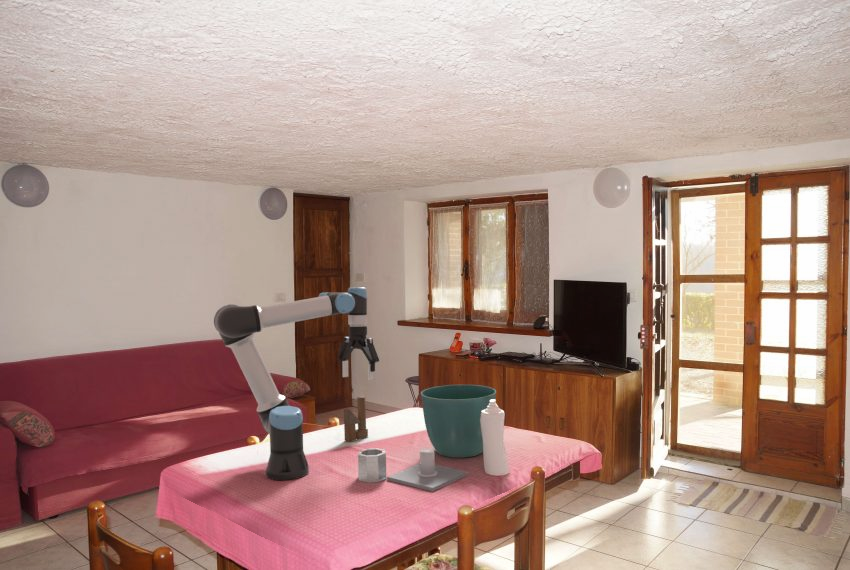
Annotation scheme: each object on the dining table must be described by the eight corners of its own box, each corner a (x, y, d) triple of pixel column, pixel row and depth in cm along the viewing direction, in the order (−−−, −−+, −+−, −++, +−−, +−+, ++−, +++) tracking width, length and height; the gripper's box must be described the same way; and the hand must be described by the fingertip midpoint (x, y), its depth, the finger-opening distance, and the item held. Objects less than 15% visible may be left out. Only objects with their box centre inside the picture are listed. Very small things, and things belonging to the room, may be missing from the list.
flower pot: (459, 468, 222) (457, 402, 222) (407, 452, 245) (405, 392, 245) (513, 451, 242) (511, 390, 242) (460, 437, 265) (458, 382, 264)
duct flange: (432, 491, 199) (431, 463, 199) (387, 480, 211) (386, 453, 211) (467, 475, 215) (467, 448, 214) (423, 465, 227) (422, 440, 227)
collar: (373, 484, 208) (372, 457, 208) (353, 479, 214) (352, 453, 214) (391, 476, 215) (391, 451, 215) (372, 471, 221) (371, 446, 221)
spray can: (473, 471, 219) (471, 401, 218) (489, 463, 227) (487, 396, 227) (501, 477, 212) (499, 405, 211) (516, 468, 220) (515, 399, 220)
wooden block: (344, 441, 264) (343, 399, 264) (362, 435, 272) (361, 395, 272) (350, 442, 262) (348, 400, 262) (368, 437, 270) (367, 396, 270)
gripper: (387, 326, 242) (388, 379, 242) (341, 323, 256) (341, 374, 257) (375, 327, 236) (375, 382, 236) (328, 325, 250) (328, 376, 250)
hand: (358, 378), depth 246 cm, fingers open, 13 cm apart
